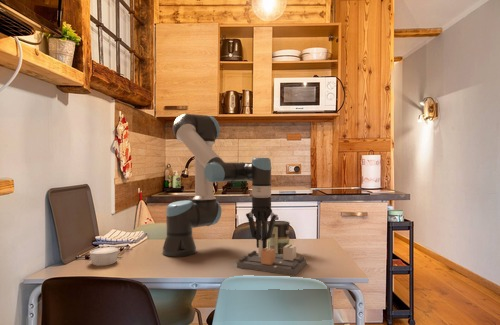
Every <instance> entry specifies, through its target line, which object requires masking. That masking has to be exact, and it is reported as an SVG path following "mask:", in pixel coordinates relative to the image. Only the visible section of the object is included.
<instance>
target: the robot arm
mask: <svg viewBox="0 0 500 325" xmlns="http://www.w3.org/2000/svg"><path fill="white" fill-rule="evenodd" d="M172 133H173V135H174V138H176V139H177V141H178V142H179V143H183V144H184V146H185V147H186V148H187V149H188V150H189V152H191V154H192V155H193V156H194V184H195V186H194V188H195V189H194V190H195V191H194V192H195V194H194V197H192V199H191V200H187V199H185V200H177V201H173V202H170V203H169V204H168V205H166V212H165V215H166V237H165V239H164V244H163V246H162V254H163V255H164V256H167V257H175V258H176V257H186V256H191V255H194V254H196V252H197V246H196V243H195V240H194V236H193V229H194V228H195V229H196V228H200V227H209V226H214V225H216V224H217V223H219V221H220V219H221V217H222V211H223V210H222V206H221V204H220V203H219V201H217V197H216V196H215V195H214V183H223V182H224V183H225V182H242V181H243V182H251V186H252V188H251V194H252V197H251V207H252V208H251V209H250V211H249V212H248V213H245V216H246V218H247V222H248V225H249V230H250V233H251V238H252V239H255V240H256V248H258V253H259V257H261V251H262V250H263V249H265V248H268V239H270V238H271V237H272V232H273V228H274V224H275V221H277V219H278V217H279V216H278V214H275V213H274V212H273V209H272V197H271V196H272V161H271V158H270V157H253V158H252V160H251V162H242V161H241V162H240V161H239V162H225V161H224V160H223V158H221V157H220V156H219V155H218V154H217V153H216V151H215V150H214V149H213V146H214V144H215V143H216V140H217V139H218V138H219V136H220V133H221V128H220V123H219V121H218V120H217V119H216V118H215V117H214V116H211V115H204V114H193V113H183V114H181V115H179V116H178V117H176V118H175V120H174V122H173V124H172ZM269 218H270V224H269V228H268V224H267V222H269V221H268V220H269Z"/></svg>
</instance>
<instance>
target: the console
mask: <svg viewBox="0 0 500 325" xmlns="http://www.w3.org/2000/svg"><path fill="white" fill-rule="evenodd" d="M306 264H307V258H305V256H304V255H302V256H300V257H296V258H295V259H294V260H293V261H291V260H283V256H279V255H275V262H274V263H273V264H272V265H267V264H261V257H259V252H257V250H253V251H251V252H249V253H248V254H247V255H244V256H242V257H241V258H239V259H238V261H237V262H236V268H238V269H239V268H240V269H246V270H254V271H262V272H269V273H276V274H283V275H290V276H296V275H297V274H298V273H299V272H300V271H301V270H302V269H303V268H304V267H305V266H306Z"/></svg>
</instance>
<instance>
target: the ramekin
mask: <svg viewBox="0 0 500 325" xmlns="http://www.w3.org/2000/svg"><path fill="white" fill-rule="evenodd" d="M119 251H120V250H119V248H118V247H113V246H111V247H110V246H109V247H108V246H107V247H99V248H95V249H92V250H89V256H90V261H91V265H93V266H96V267H103V266H109V265H113V264H115V263H116V262H117V261H118V257H119V256H118V255H119Z"/></svg>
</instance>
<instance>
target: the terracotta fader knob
mask: <svg viewBox="0 0 500 325" xmlns="http://www.w3.org/2000/svg"><path fill="white" fill-rule="evenodd" d="M274 262H275V249H271V248H268V247H266V248H265V249H263V250H262V251H261V264H267V265H272V264H273V263H274Z"/></svg>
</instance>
